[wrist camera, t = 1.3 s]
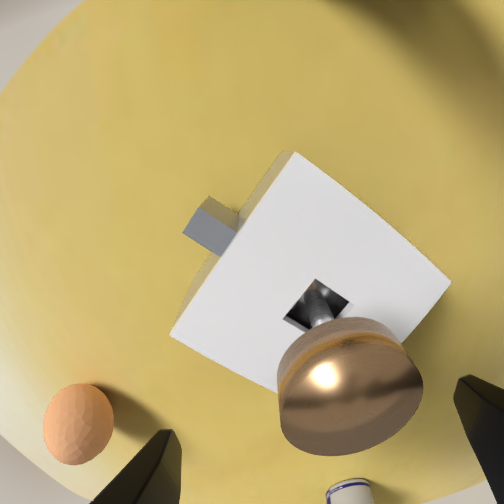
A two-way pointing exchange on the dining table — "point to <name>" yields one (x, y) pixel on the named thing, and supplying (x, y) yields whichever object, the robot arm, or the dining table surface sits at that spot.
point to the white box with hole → (296, 269)
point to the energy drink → (350, 492)
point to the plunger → (343, 379)
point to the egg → (78, 424)
